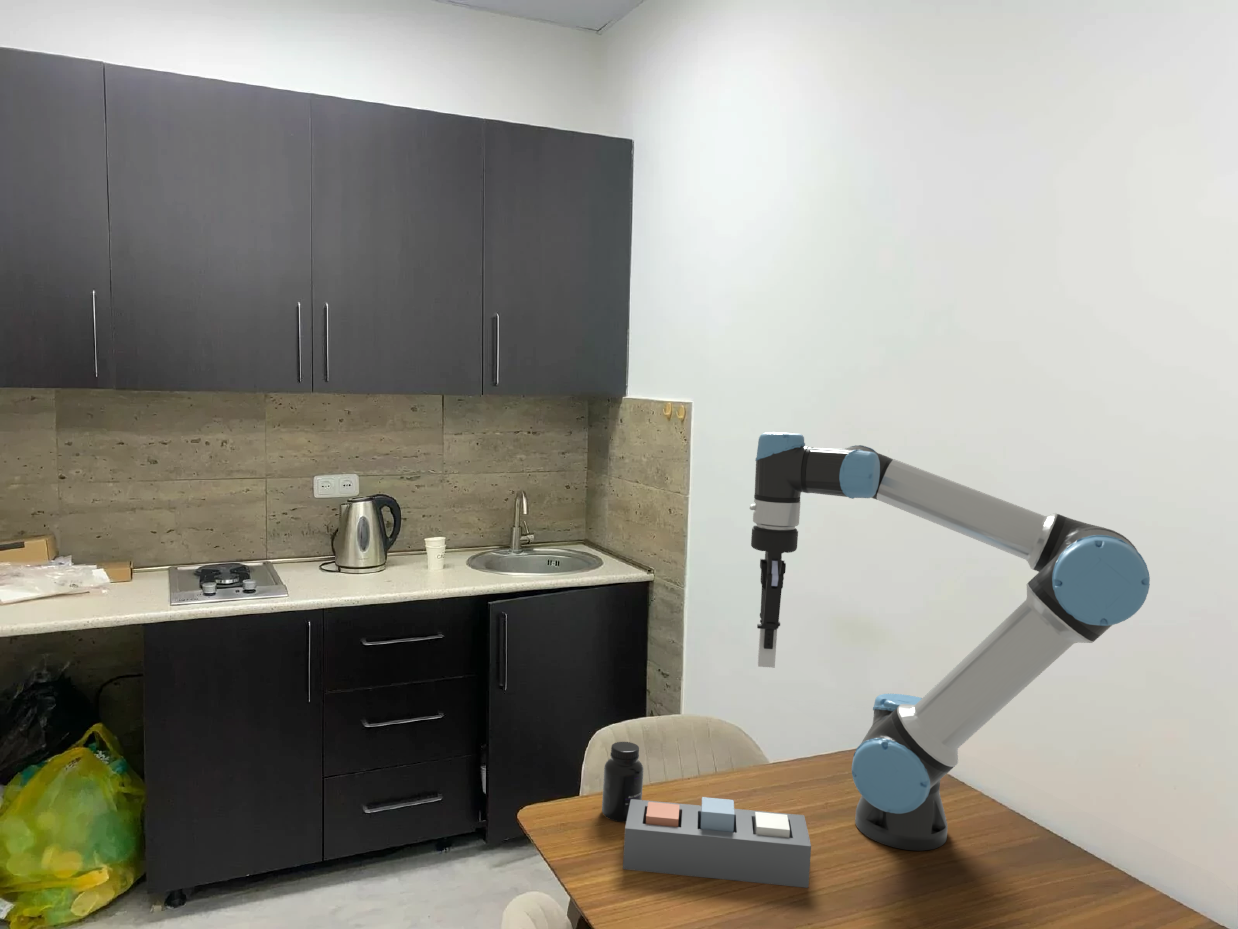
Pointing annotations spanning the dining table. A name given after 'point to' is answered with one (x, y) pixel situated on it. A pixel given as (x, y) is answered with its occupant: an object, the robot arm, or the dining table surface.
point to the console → (717, 848)
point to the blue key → (717, 814)
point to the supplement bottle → (621, 780)
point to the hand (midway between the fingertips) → (766, 665)
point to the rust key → (662, 814)
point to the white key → (771, 824)
